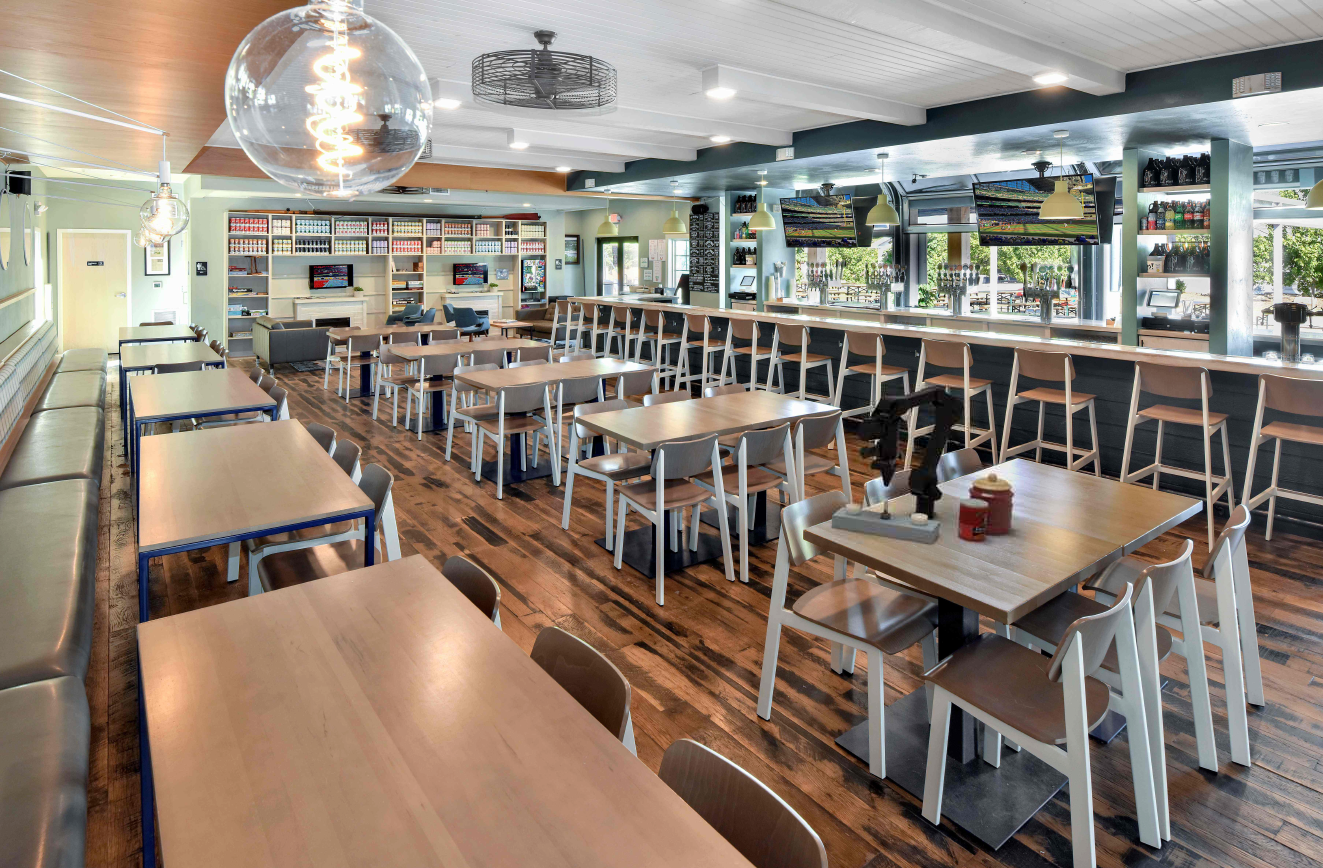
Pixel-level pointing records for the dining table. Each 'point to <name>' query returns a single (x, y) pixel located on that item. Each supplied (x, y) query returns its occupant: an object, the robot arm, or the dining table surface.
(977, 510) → the canned food
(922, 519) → the knob right
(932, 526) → the mount
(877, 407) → the robot arm
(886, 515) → the pot stem
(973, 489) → the canister
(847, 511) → the knob left
